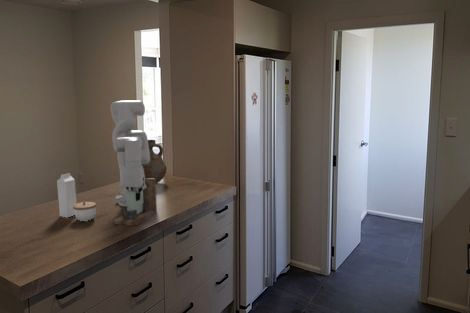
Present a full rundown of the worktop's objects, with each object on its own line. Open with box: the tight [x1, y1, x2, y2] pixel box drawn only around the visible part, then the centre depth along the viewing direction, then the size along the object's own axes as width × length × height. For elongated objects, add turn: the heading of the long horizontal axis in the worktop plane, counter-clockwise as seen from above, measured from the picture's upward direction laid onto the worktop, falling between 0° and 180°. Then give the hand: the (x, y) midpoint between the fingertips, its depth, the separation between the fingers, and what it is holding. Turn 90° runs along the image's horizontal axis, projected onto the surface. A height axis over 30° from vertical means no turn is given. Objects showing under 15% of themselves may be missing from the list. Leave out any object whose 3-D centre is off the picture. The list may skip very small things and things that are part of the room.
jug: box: [141, 139, 167, 186], centre depth 271 cm, size 22×22×30 cm
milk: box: [56, 172, 77, 218], centre depth 205 cm, size 6×6×22 cm
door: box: [126, 189, 144, 214], centre depth 203 cm, size 2×12×12 cm, turn 165°
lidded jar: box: [73, 200, 97, 222], centre depth 200 cm, size 11×11×9 cm
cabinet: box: [113, 178, 158, 226], centre depth 202 cm, size 12×22×18 cm, turn 165°
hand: (135, 199), depth 202 cm, fingers closed on door, 2 cm apart
